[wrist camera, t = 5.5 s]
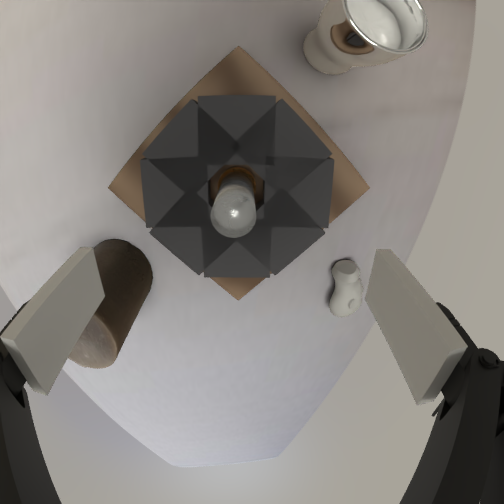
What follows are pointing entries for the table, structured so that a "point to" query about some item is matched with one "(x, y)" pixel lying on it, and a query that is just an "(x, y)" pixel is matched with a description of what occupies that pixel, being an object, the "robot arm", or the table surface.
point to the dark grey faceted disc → (237, 153)
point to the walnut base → (241, 83)
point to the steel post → (234, 203)
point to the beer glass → (364, 34)
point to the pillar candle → (114, 303)
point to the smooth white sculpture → (346, 289)
